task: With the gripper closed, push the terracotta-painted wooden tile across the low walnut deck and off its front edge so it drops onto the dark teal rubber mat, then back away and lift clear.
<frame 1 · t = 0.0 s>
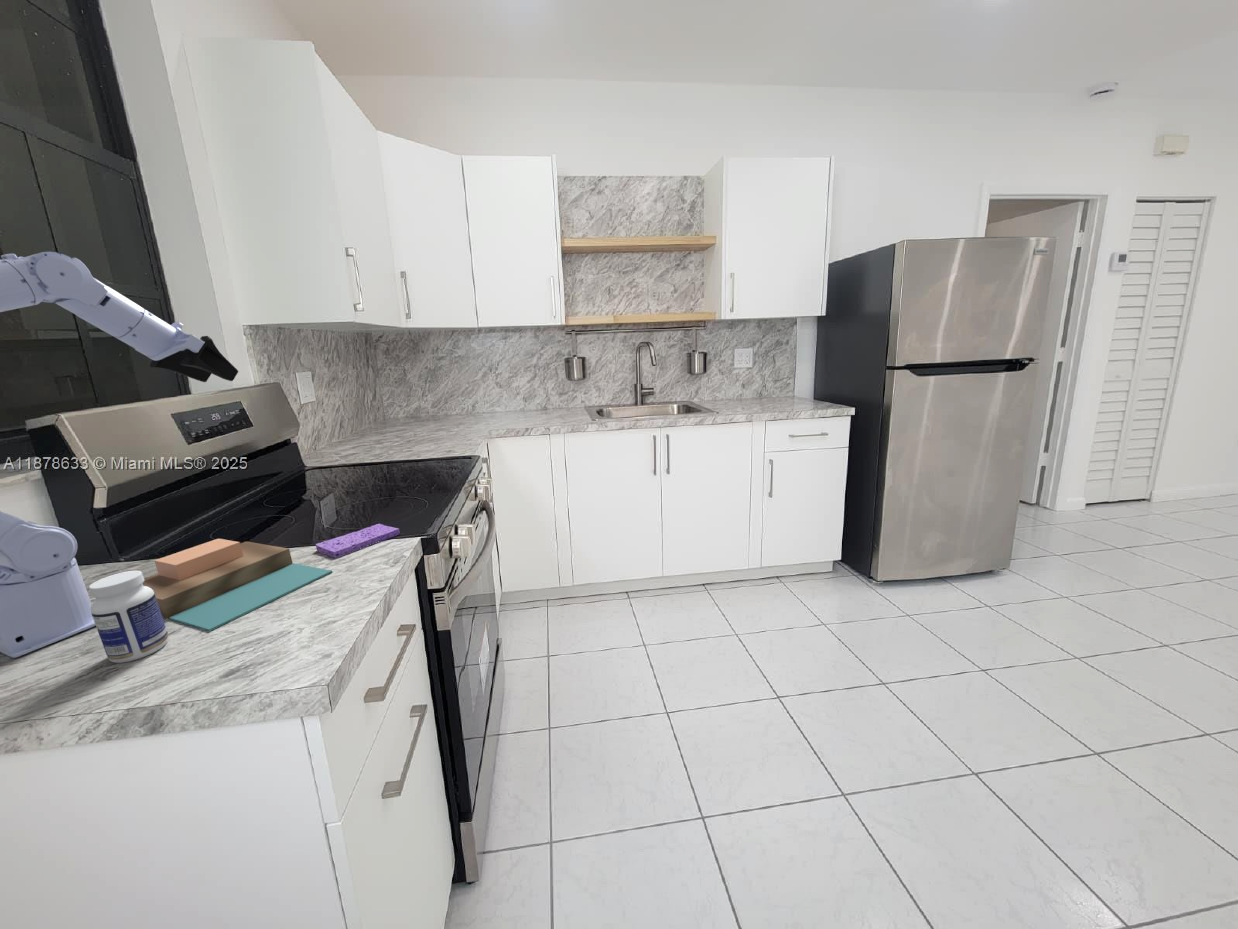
hand: (221, 376, 86), 32 cm above the countertop, tool tilted 50°, fingers open, 7 cm apart
pill bottle: (140, 651, 63), on the countertop
teal mat: (257, 593, 76), on the countertop
sponges: (360, 545, 95), on the countertop
walnut deck: (214, 583, 81), on the countertop
tile: (200, 558, 81), point 4 cm above the countertop, touching walnut deck
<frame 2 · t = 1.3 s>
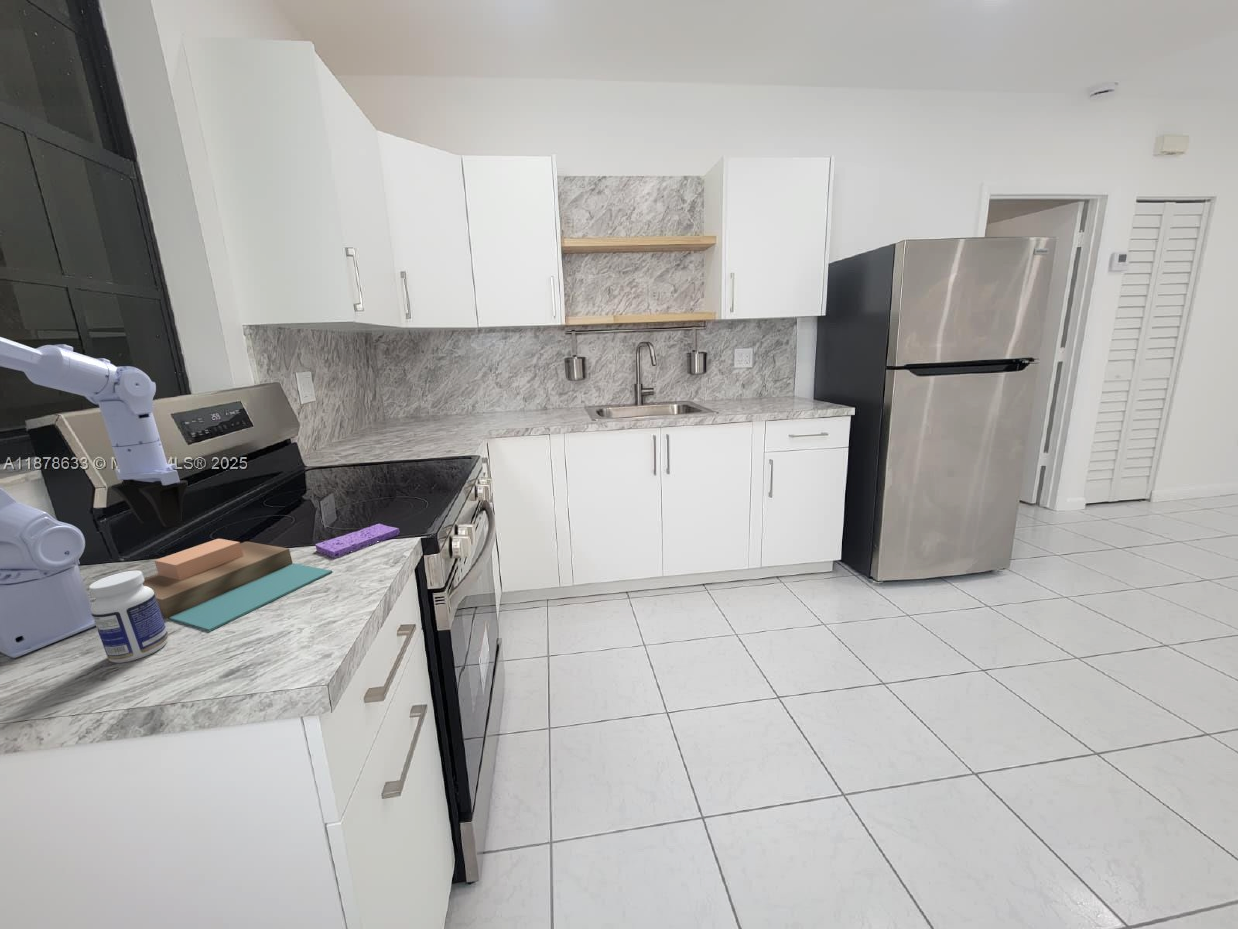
hand: (161, 523, 83), 9 cm above the countertop, tool pointing down, fingers open, 7 cm apart
nothing on the countertop moved.
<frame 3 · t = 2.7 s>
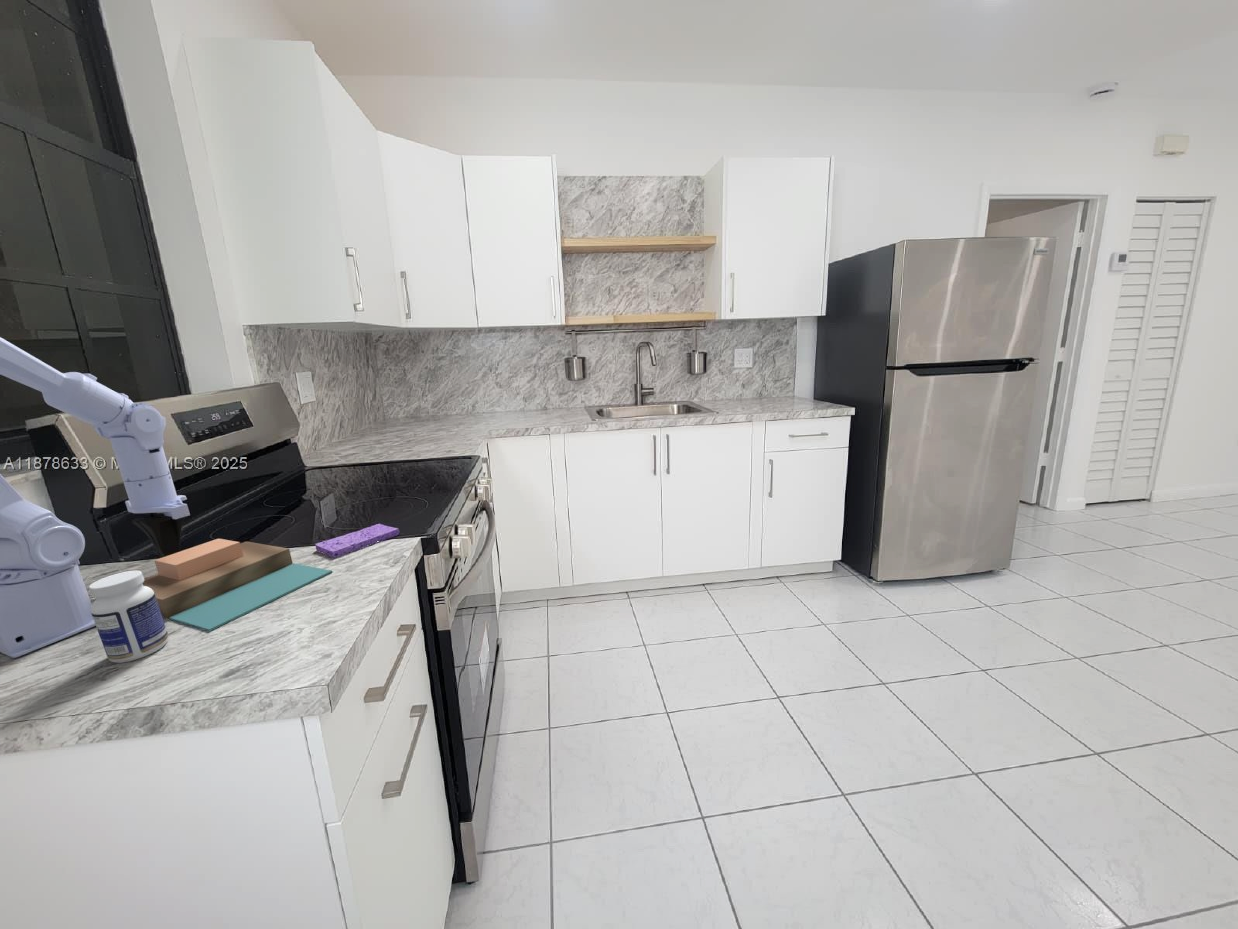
hand: (170, 554, 84), 4 cm above the countertop, tool pointing down, fingers closed
nothing on the countertop moved.
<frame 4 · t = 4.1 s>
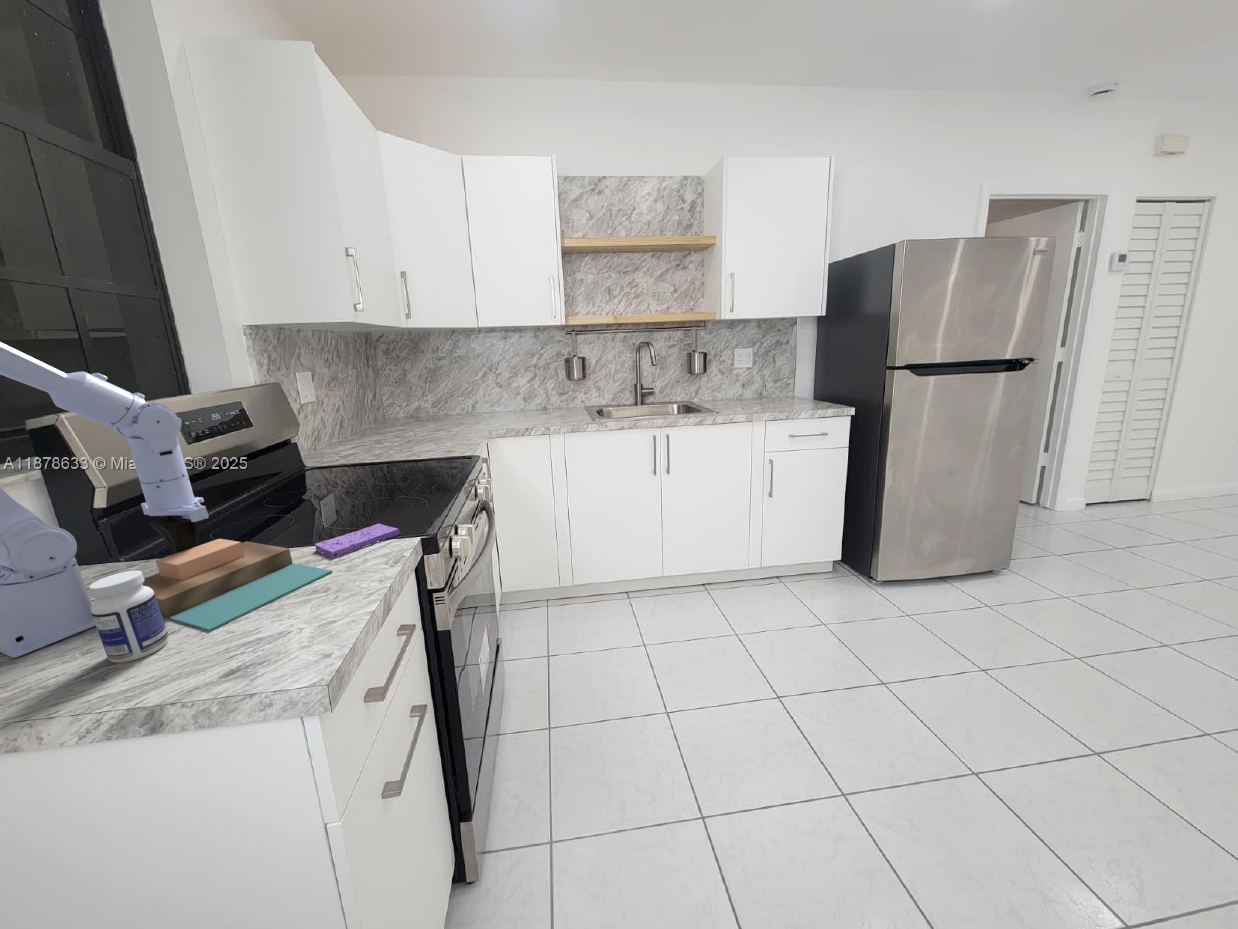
hand: (188, 557, 82), 4 cm above the countertop, tool pointing down, fingers closed
tile: (201, 558, 81), point 4 cm above the countertop, touching gripper
everything else where it was.
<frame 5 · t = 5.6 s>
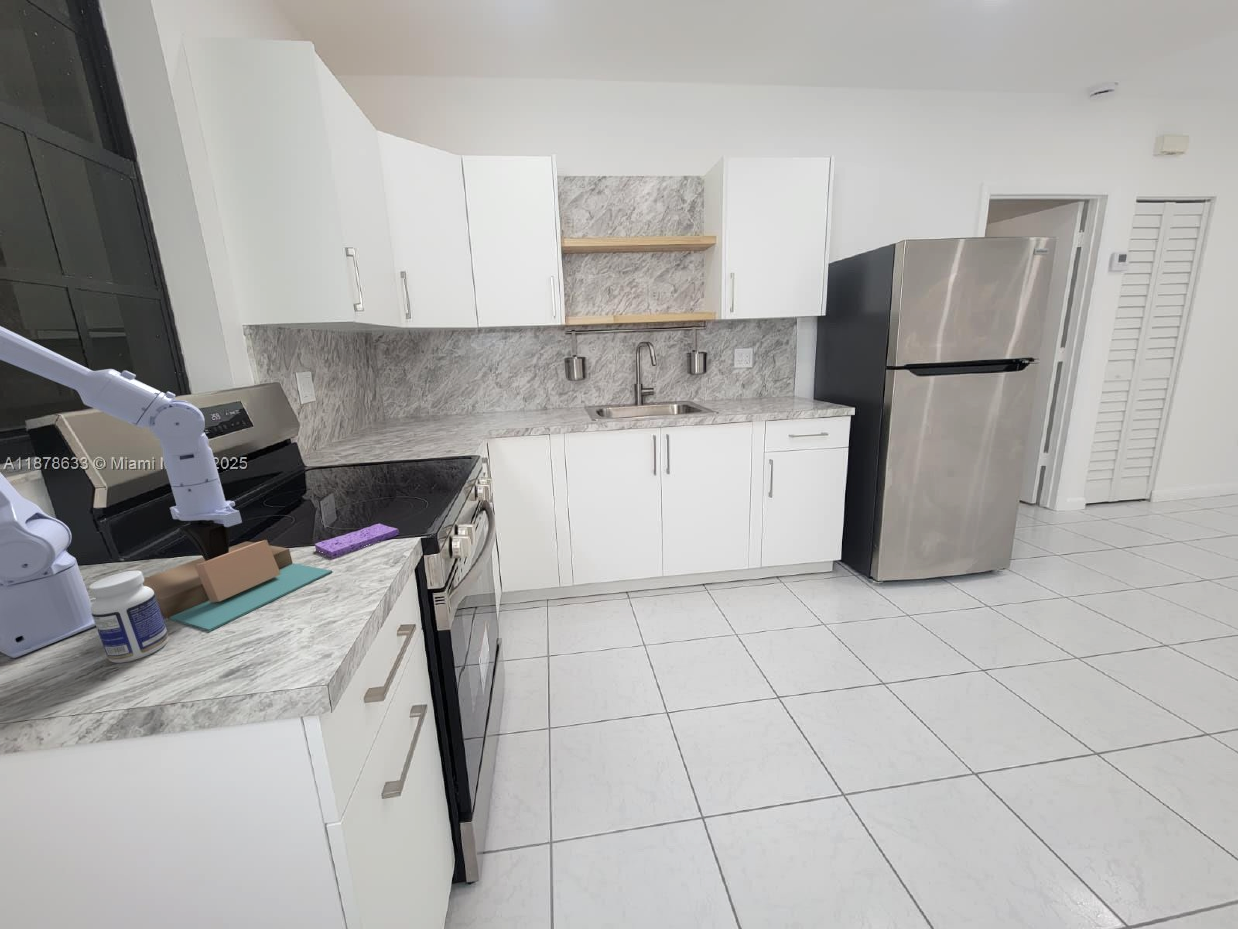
hand: (218, 564, 79), 4 cm above the countertop, tool pointing down, fingers closed
tile: (239, 570, 77), point 4 cm above the countertop, tilted 76°, touching teal mat
everything else where it was.
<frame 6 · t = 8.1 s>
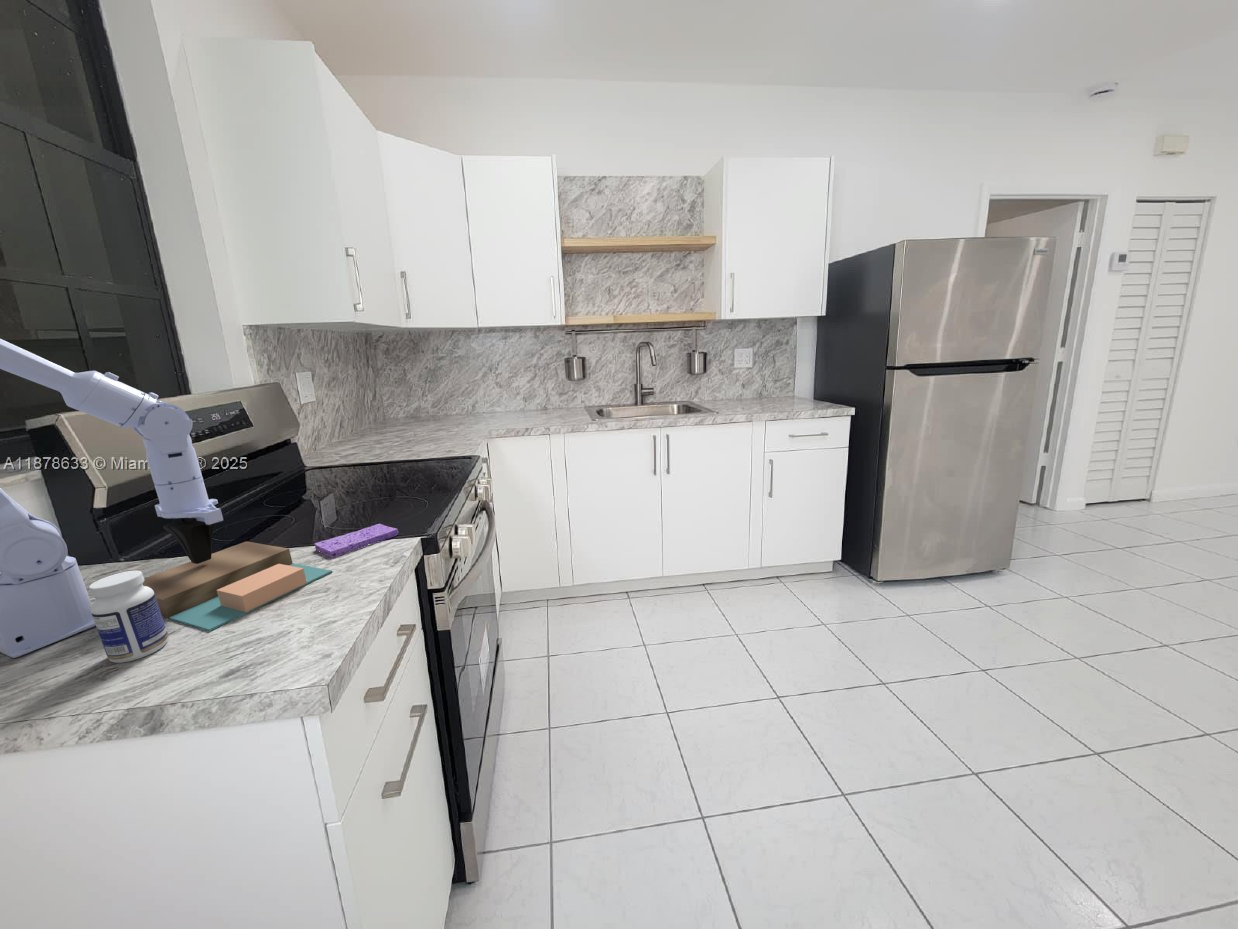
hand: (202, 561, 81), 4 cm above the countertop, tool pointing down, fingers closed
tile: (263, 586, 75), point 2 cm above the countertop, tilted 180°, touching teal mat
everything else where it was.
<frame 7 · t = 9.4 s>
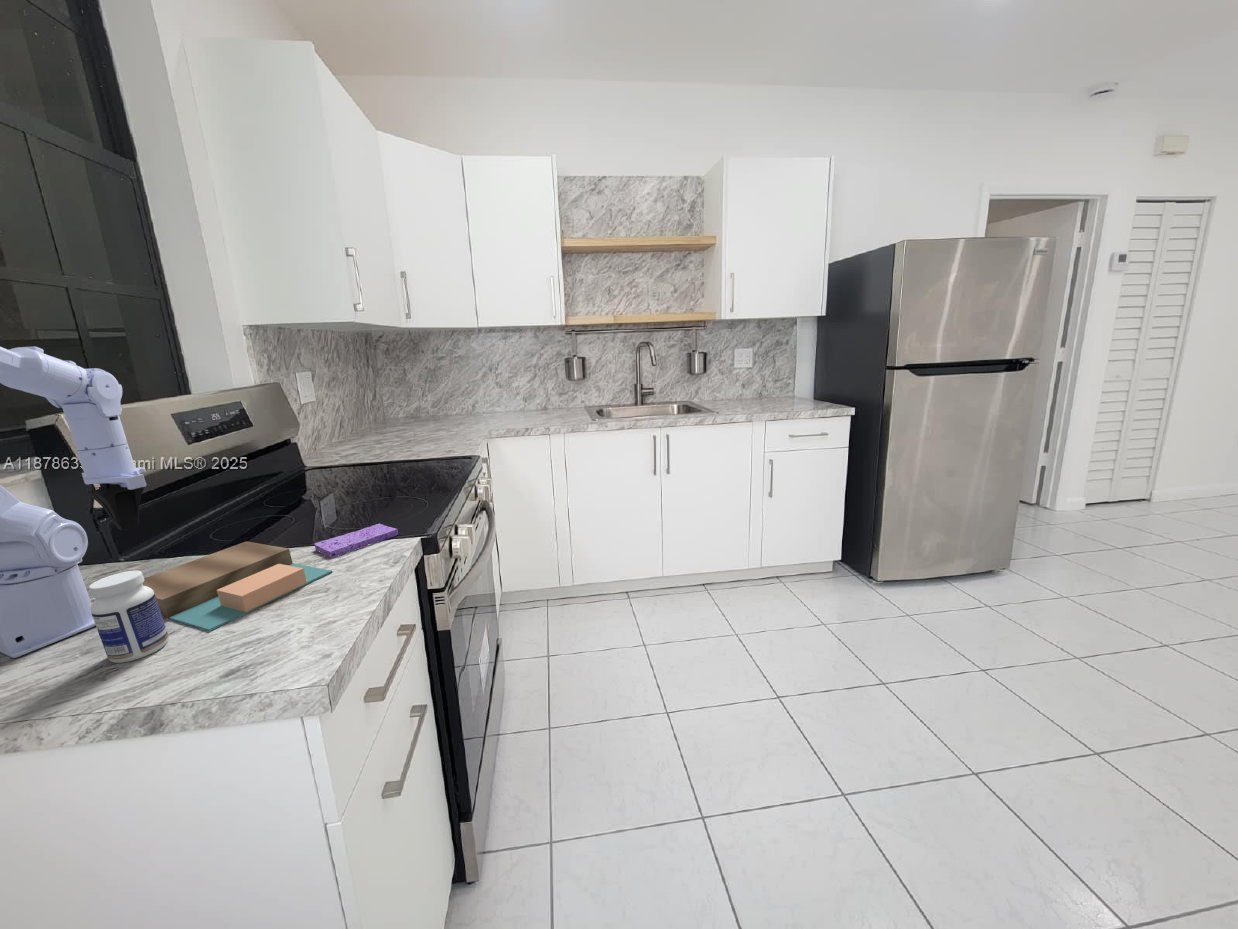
hand: (128, 528, 82), 9 cm above the countertop, tool pointing down, fingers closed
nothing on the countertop moved.
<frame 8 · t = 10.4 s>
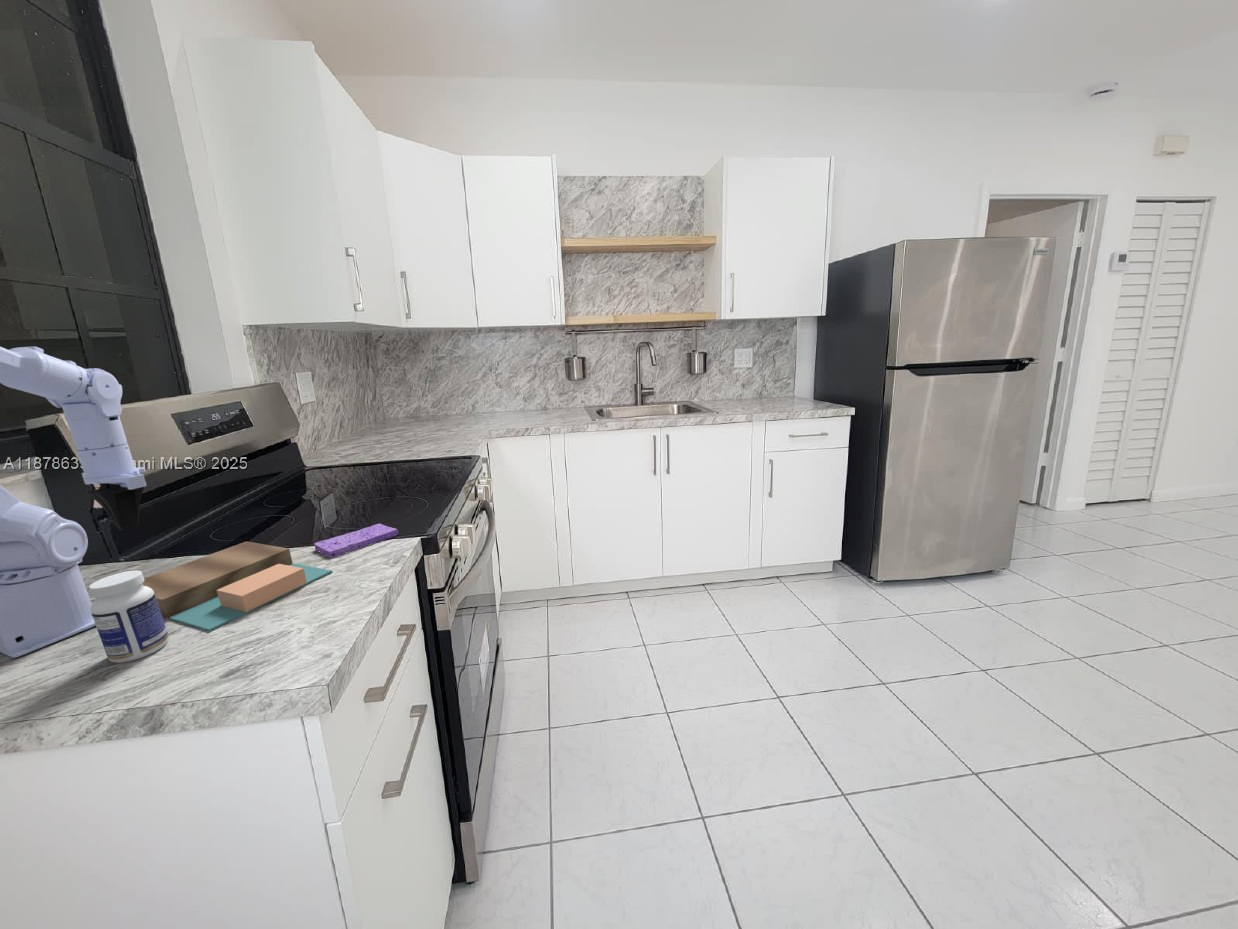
hand: (128, 528, 82), 9 cm above the countertop, tool pointing down, fingers closed
nothing on the countertop moved.
at the end: tile point 1.5 cm above the countertop; tile inside the target area (2.0 cm from its centre), point 1.5 cm above the countertop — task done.
